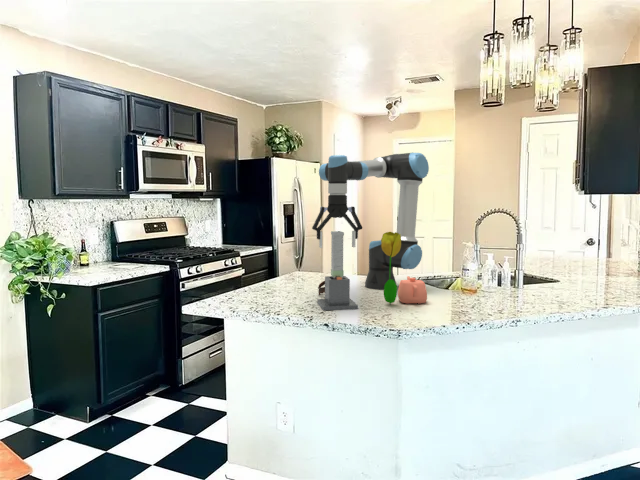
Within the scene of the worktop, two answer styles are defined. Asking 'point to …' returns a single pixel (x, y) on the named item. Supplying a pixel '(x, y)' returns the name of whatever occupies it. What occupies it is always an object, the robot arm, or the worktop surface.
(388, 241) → the flower
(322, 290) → the pottery mug
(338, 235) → the column
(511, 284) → the worktop surface
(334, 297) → the stand base
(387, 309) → the worktop surface
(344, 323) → the worktop surface
